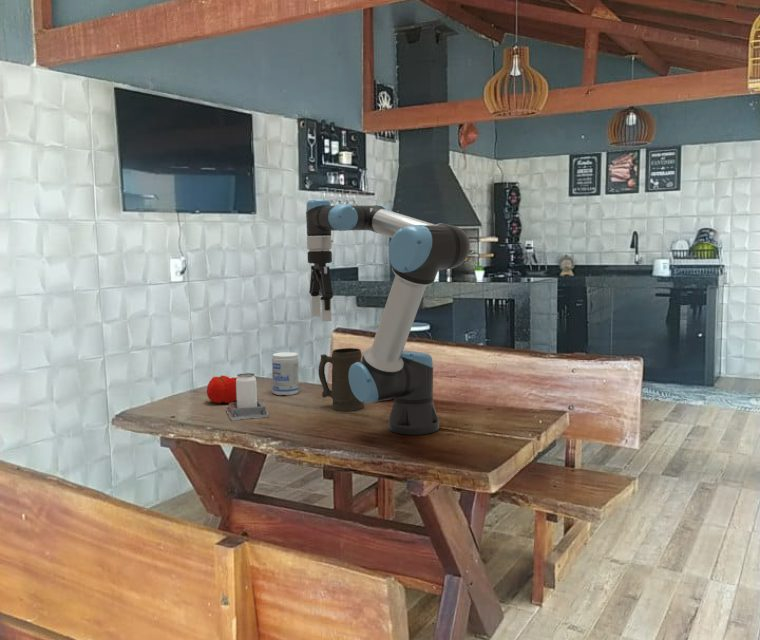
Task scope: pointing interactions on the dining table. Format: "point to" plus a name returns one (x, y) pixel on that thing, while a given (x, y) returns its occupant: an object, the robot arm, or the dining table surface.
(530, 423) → the dining table surface
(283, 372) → the supplement tub
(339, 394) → the beer stein
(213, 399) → the tomato
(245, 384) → the can
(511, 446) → the dining table surface
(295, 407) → the dining table surface
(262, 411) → the grey flat rectangular tray
